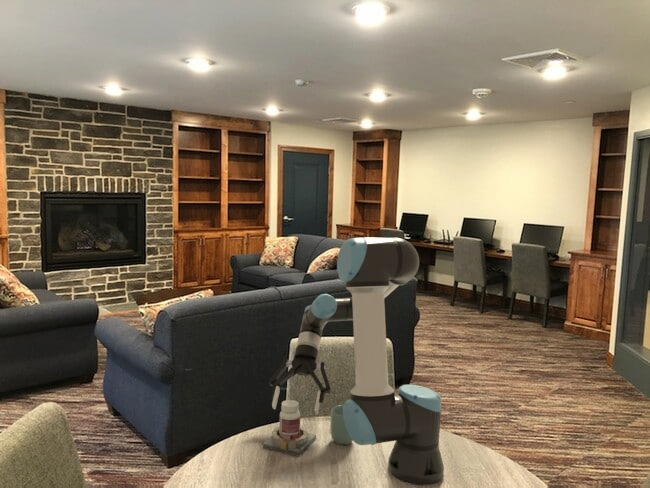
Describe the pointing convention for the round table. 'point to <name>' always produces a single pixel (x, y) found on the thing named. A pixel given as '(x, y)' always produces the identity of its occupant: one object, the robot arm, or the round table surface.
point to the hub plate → (290, 450)
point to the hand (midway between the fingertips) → (294, 410)
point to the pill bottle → (289, 420)
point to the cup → (339, 426)
